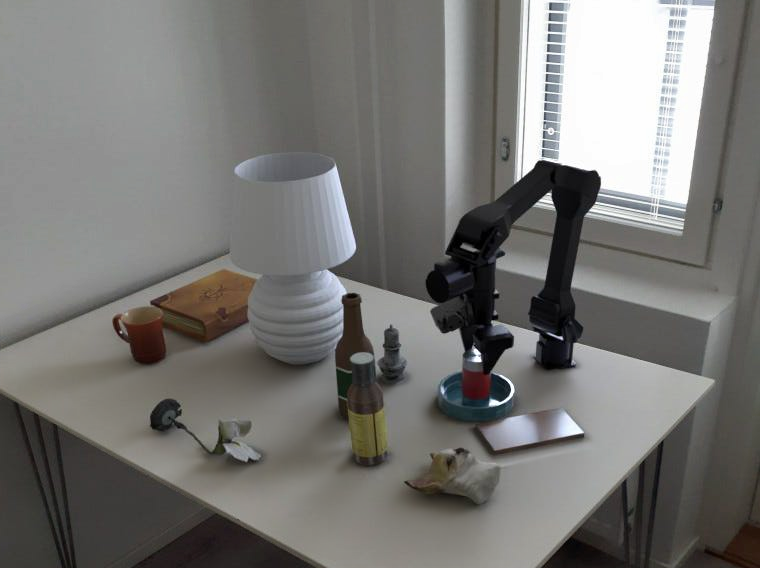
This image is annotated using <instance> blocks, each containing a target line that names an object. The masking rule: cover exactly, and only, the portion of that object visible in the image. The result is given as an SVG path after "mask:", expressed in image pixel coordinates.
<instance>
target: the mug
mask: <svg viewBox="0 0 760 568" xmlns="http://www.w3.org/2000/svg"><path fill="white" fill-rule="evenodd" d="M162 317H163V311H162V310H161V309H159V308H157V307H155V306H152V305H149V306H148V305H147V306H138V307H134V308H130V309H128V310H126V311H124V313H118V314H115V315H114V316H113V317H112V326H113V329H114V331H115V333H116V334H117V336H118V337H119V338H120V339H121V340H122V341H124V342H125V343H127V344H128V345H129V350H130V353H131V357H132V358H133V360H134V361H135V362H136V363H137V364H141V365H153V364H157V363H159V362H161V361H162V360H164V358H165V357H166V356H167V343H166V340H165V334H164V331H163V326H162ZM119 320H120V321H121V323H122V325H123V328H125V330H126V332H127V334H126V333H125V332H124V331H123V329H122V327H121V325H120V321H119Z"/></svg>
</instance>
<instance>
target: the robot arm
mask: <svg viewBox="0 0 760 568" xmlns="http://www.w3.org/2000/svg"><path fill="white" fill-rule="evenodd" d="M601 187H602V177H601V175H599V172H598V171H597V170H596V169H593V168H589V167H584V166H580V165H576V164H571V163H567V162H566V163H563V162H560V161H556V160H552V159H548V158H542V159H539V160H537V161H536V163H535V164H534V166H533V168H532V169H531V170H529V171H528V172H527V173H526V174H525V175H524V176H522V177H521V178H520V179H519V180H517V182H515V183H514V184H513V185H512V186H511V187H510V188H508V189H507V190H505V192H503V193H502V194H501V195H500V196H499V197H498V198H496V199H495V200H494V201H492V202H490V203H489V202H488V203H486V204H482V205H478V206H476V207H475V208H473V209H471V210H469V211H468V212H466V213H465V214H464V215H462V217H461V218H460V220H459V221H458V224H457V226H456V228H455V230H454V232H453V235H452V236H451V239H450V240H449V243H448V245H447V247H446V249H445V252H444V255H446V256H448V257H450V258H448V259H445V260H442V261H437V262H435V263H434V264H433V270H431V271H430V272H428V274H427V276H426V279H425V281H424V282H425V289H426V292H427V294H428V296H429V298H431V300H433V301H434V302H435V303H437V304H438V305H435V306H434V307H432V308H431V309H430V310H429V312H430V315H431V317H432V320H433V322H434V326H435V327H436V328H437V329H438V330H439V331H440V334H448V333H450V332H451V333H452V332H456V331H457V330H458V332H459V335H460V339H461V343H462V346H463V349H464V352H465V351H467V350H470V349H473V348H474V349H477V351H478V352H480V353H481V362H482V369H483V374H484V375H489V374H490V373H491V372H493V369H494V368H495V366H496V365H497V363H498V361H499V360H500V358H501V357H502V355H503V354H504V353H505V352H506V350H509V349H512V348H513V347H514V344H515V335H514V334H512V332H511V331H510V330H509V329H508V328H507V327H505V326H504V325H503V324H502V323H501V324H497V325H494V323H492V321H493V322H494V321H498V320H499V313H498V312H497V311H496V309H495V307H496V300H498V299H500V292H499V291H498V290H497V289H496V282H497V281H496V279H497V259H500V258H502V257H505V256H506V252H505V251H504V250H503V249H502V248H501V246H502V245H503V243H505V241H506V240H507V239H508V238H509V237H510V235H511V229H512V226H513V225H514V223H516V222H517V221H518V220H519V219H520V218H521V217H522V216H524V215H525V214H526V213H527V212H528V211H529V210H530V209H532V207H534V206H535V205H537V203H539V201H540V200H542V199H543V198H544V197H545V196H547V194H548V193H550V192H551V193H550V194H551V195H550V197H551V201H552V204H553V206H554V209H555V212H556V217H555V222H554V223H555V224H554V229H553V235H552V239H551V245H550V251H549V257H548V263H547V269H546V275H545V280H544V286H543V288H542V289H541V290H540V291H539V292H538V293H537V295H532V297H531V298H530V306H529V310H528V313H527V316H529V317H528V318H529V323H530V324H531V328H532V331H533V332H535V333H538V340H537V341H536V343H535V344H536V346H535V354H534V355H533V358H534V359H535V360H536V361H537V363H539V364H540V365H541V366H542V368H544V369H545V370H546V371H555V370H559V369H566V368H571V367H575V366H576V365H577V362H576V361H574V359H573V356H574V345H575V344H577V343H578V340H579V339H581V338H582V335H583V332H584V328H585V327H584V326H583V325H582V324H581V323H580V322H579V321H578V320H577V319H576V318H575V317H576V303H575V300H574V297H573V295H572V292H571V288H572V283H573V278H574V272H575V268H576V262H577V256H578V251H579V246H580V240H581V235H582V230H583V224H584V219H585V217H586V215H587V214H588V213H589V212H590V210H591V209H592V208H593V207H594V206H595V204H596V203H597V200H598V196H599V193H600V190H601ZM462 246H466V247H469V248H472V249H475V250H469V249H467V248H465V247H462Z"/></svg>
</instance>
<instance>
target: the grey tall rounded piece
mask: <svg viewBox="0 0 760 568" xmlns="http://www.w3.org/2000/svg"><path fill="white" fill-rule="evenodd" d="M383 338H384V339H383V340H384V342H383V344H382V348H383V351H384V354H383V356H382V357H381V358H379V359H378V361H377V366H378V368H379V370H380V372H381V373H382V374H381V380H382V381H383V382H385V383H389V384H390V383H391V384H392V383H398V382H401V381H403V380H404V379H405V374H404V371H405V369H406V366H407V365H408V360H407V359H406V358H405V357H404V356H401V352H400V351H401V350H400V349H401V347H402V344H401V343H400V333H399V330H398V329H397V328H396V327H394V325H392V324H390V325H389V326H388V328H385V329H384V332H383Z"/></svg>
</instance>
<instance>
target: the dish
mask: <svg viewBox="0 0 760 568" xmlns="http://www.w3.org/2000/svg"><path fill="white" fill-rule="evenodd" d="M515 392H516V391H515V387H514V384H513V382H511V380H510V379H509V378H507V377H505V376H504V375H502V374H499V373H497V372H493V371H491V377H490V399H489V404H488V405H487V406H485V407H470V406H464V405H463V403H462V370H461V371H456V372H453V373H451V374H449V375H447V376H445V377H444V378H443V379H441V380H440V382H439V384H438V385H437V405H438V407H439V408H440V410H441V412H443V413H444V414H446V415H447V416H449V417H451V418H454V419H456V420H459V421H465V422H472V423H484V422H489V421H494V420H499V419H501V418H502V417H505V416H506V415H507V414H509V413H510V412H511V411H512V410H513V407H514V405H515Z"/></svg>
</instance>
